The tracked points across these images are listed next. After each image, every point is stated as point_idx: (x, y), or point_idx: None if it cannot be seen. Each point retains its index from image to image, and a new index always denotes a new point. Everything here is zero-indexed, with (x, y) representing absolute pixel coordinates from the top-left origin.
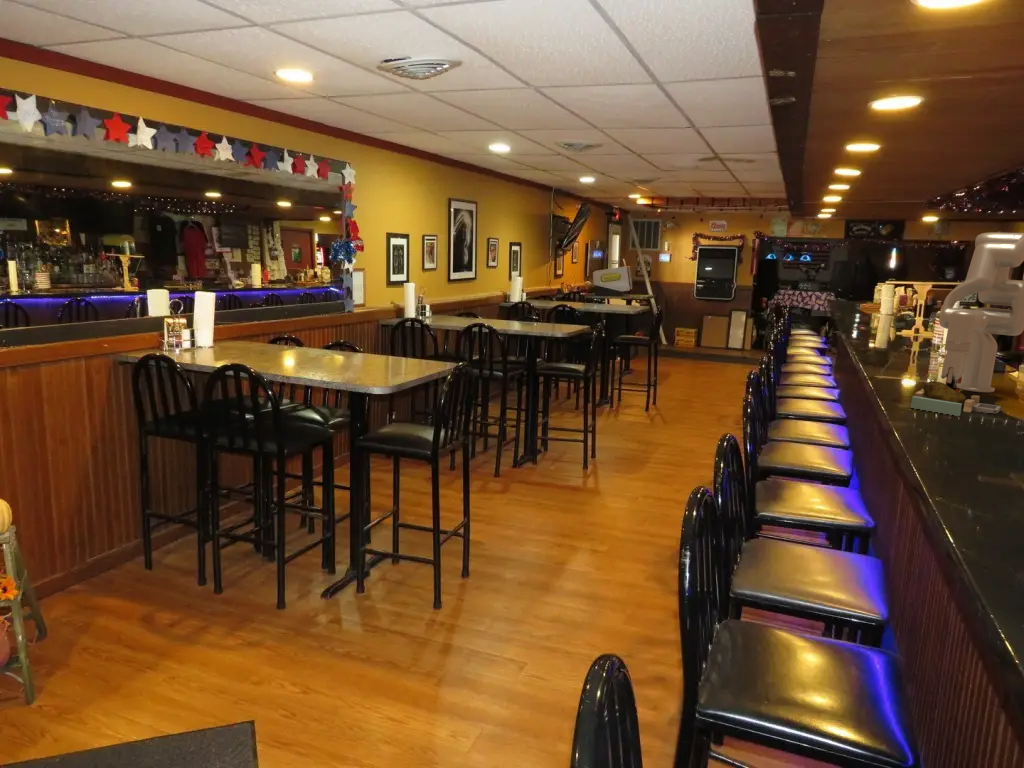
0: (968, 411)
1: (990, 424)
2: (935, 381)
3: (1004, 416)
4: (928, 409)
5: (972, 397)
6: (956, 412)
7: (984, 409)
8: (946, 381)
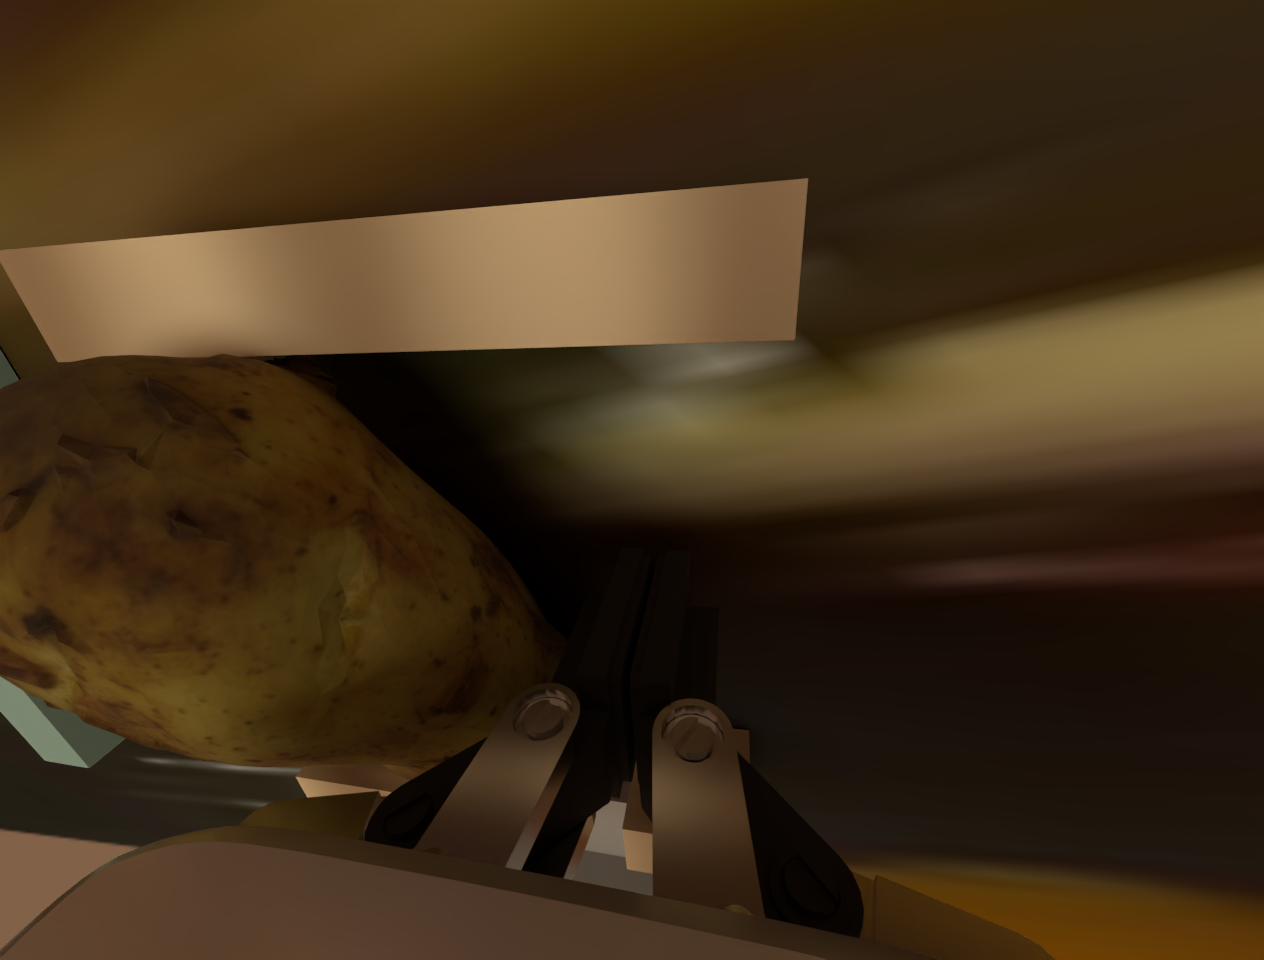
0: None
1: (192, 792)
2: (60, 653)
3: None
4: None
5: (626, 829)
6: None
7: None
8: (443, 811)
